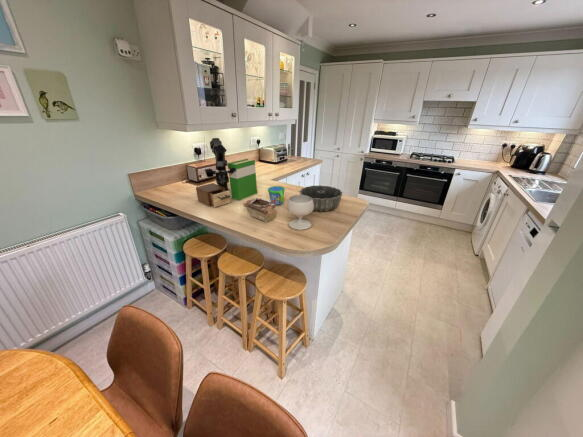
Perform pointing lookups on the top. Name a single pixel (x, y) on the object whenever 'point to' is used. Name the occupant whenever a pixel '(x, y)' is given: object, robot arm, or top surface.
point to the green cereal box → (243, 179)
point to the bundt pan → (323, 197)
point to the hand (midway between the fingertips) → (222, 184)
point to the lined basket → (261, 209)
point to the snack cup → (276, 194)
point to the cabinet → (207, 192)
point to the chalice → (300, 210)
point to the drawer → (219, 197)
